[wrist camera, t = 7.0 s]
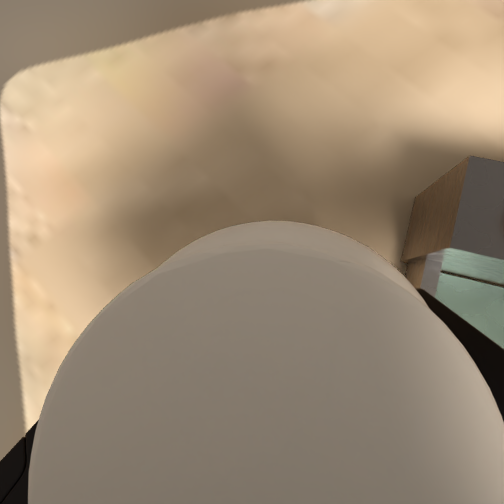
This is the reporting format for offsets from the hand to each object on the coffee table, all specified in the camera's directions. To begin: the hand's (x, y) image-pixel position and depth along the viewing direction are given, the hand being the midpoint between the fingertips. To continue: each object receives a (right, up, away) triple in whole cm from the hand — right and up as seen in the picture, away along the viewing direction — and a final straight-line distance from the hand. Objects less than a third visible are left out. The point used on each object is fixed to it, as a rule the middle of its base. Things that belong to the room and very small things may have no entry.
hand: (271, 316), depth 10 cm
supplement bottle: (+1, -2, +7) cm, 7 cm away
